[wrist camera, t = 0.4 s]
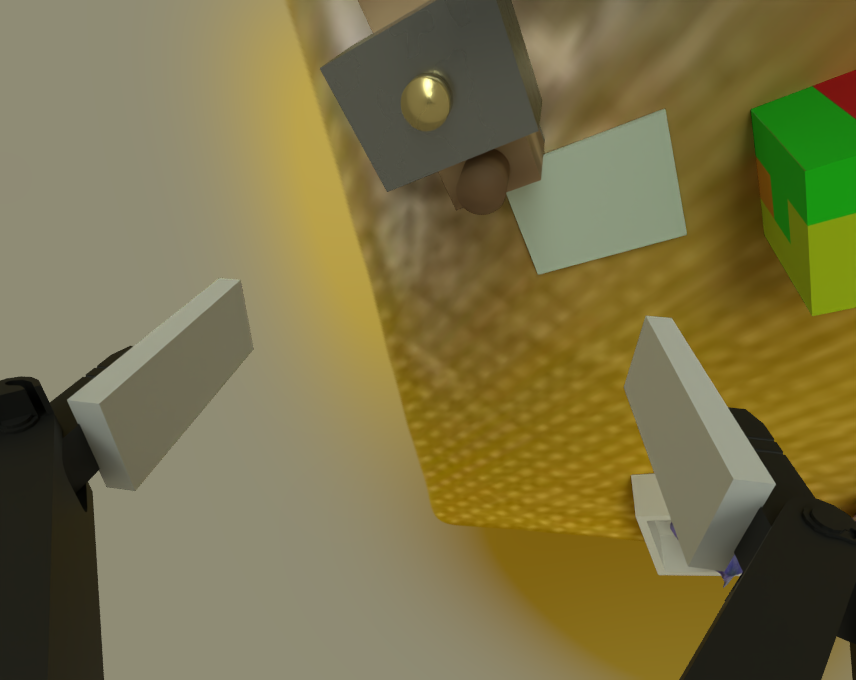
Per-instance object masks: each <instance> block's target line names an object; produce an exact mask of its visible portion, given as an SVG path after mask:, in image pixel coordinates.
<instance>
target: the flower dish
mask: <svg viewBox="0 0 856 680" xmlns="http://www.w3.org/2000/svg"><path fill="white" fill-rule="evenodd" d="M631 479H632V488H633V497H634V506H635V515H636V519H637V521H638V524H639V526H640V529H641V532H642V534H643V537H644V539H645V542H646V544H647V547H648V549H649V552H650V554H651V557H652V560H653V562H654V565H655V567H656V570H657V573H658V574H659V575H706V576H707V575H708V576H709V575H711V576H721V574H720V573H718V572H717V571H715V570H709V569H702V568H695V567H688V565H687V562H686V560H685V557H684V554H683V551H682V548H681V546H680V543H679V540H678V539H677V538H676V537H675V535H674V534H673V532H672V530H671V529H670V524H671V522H672V520H671V518H670V515H669V512H668V509H667V506H666V504H665V501H664V498H663V495H662V493H661V490H660V487H659V484H658V481H657V479H656V476H655V473H654V474H641V475H631ZM741 574H742V573H741ZM741 574H739V575H735V576H741Z"/></svg>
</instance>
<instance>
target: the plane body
mask: <svg viewBox="0 0 856 680" xmlns="http://www.w3.org/2000/svg"><path fill="white" fill-rule="evenodd" d="M428 1H429V0H358V2H359V4H360V6H361V8H362V10H363V13H364V15H365V17H366V19H367V21H368V23H369V25H370V27H371V30H372V32H373V33H375V32H376V31H378V30H380V29H382V28H383V27H385V26H387V25H388V24H390V23H392V22H393V21H395V20H397V19H399V18H400V17H402V16H404V15H405V14H407V13H409V12H411V11H412V10H414V9H416V8H417V7H419V6H421V5H422V4H424V3H426V2H428ZM544 141H545V140H544V137H543V134H542V131H541V127H540V125H539V131H537V132H535V133H532V134H530V135H527V136H525V137H522V138H520V139H517V140H515V141H512V142H510V143H507V144H505V145H502V146H500V147H497V148H495V149H493V150H490V151H488V152H485V153H483V154H480V155H478V156H475V157H473V158H470V159H468V160H465V161H463V162H460V163H458V164H455V165H453V166H450V167H448V168H445V169H443V170H440V171H438V173H439V175H440V177H441V179H442V181H443V183H444V185H445V188H446V190H447V192H448V194H449V196H450V198H451V200H452V203H453V205H454V207H455V209H456V210H459V209H461V208H465V209H466V210H467V211H469V212H471V213H474V214H478V215H485V214H490V213H492V212H494V211H496V210H497V209H498V208H499V207H500V206H501V205H502V204H503V202H504V200H505V197H506V192H509V191H512V190H515V189H517V188H520V187H523V186H526V185H529V184H531V183H534V182H537V181H540V180H541V175H542V164H543V152H544Z"/></svg>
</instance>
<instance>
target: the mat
mask: <svg viewBox="0 0 856 680" xmlns="http://www.w3.org/2000/svg"><path fill="white" fill-rule="evenodd" d="M506 195H507V197H508V200H509V202H510V205H511V207H512V210H513V212H514V215H515V217H516V220H517V223H518V225H519V228H520V230H521V233H522V235H523V238H524V240H525V243H526V245H527V248H528V250H529V253H530V255H531V258H532V261H533V263H534V266H535V268H536V271H537V273H538V275H539V274H543V273H547V272H550V271H554V270H558V269H562V268H565V267H569V266H573V265H576V264H580V263H584V262H588V261H591V260H595V259H599V258H602V257H606V256H610V255H614V254H617V253H621V252H625V251H629V250H632V249H636V248H640V247H643V246H647V245H651V244H655V243H658V242H662V241H666V240H669V239H673V238H677V237H681V236H684V235H687V231H686V226H685V220H684V214H683V208H682V203H681V197H680V191H679V185H678V179H677V174H676V168H675V162H674V156H673V151H672V145H671V139H670V133H669V128H668V122H667V116H666V110H665V109H662V110H659V111H657V112H654V113H652V114H649V115H646V116H644V117H641V118H638V119H636V120H633V121H630V122H628V123H625V124H623V125H620V126H617V127H615V128H612V129H609V130H607V131H604V132H601V133H599V134H596V135H594V136H591V137H588V138H586V139H583V140H580V141H578V142H575V143H573V144H570V145H567V146H565V147H562V148H559V149H557V150H554V151H551V152H549V153H546V154H544V155H543V164H542V175H541V180H540V181H537V182H534V183H531V184H529V185H526V186H523V187H520V188H517V189H515V190H512V191H509V192H506Z"/></svg>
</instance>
